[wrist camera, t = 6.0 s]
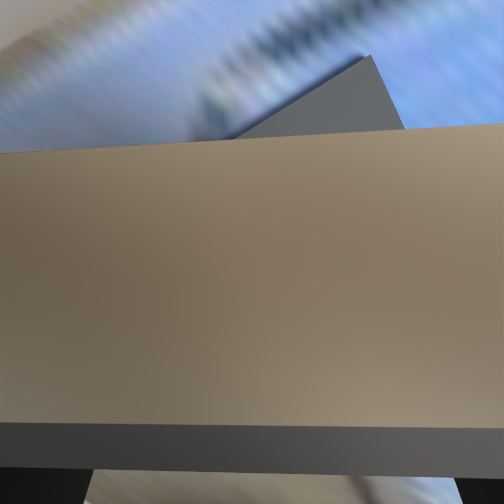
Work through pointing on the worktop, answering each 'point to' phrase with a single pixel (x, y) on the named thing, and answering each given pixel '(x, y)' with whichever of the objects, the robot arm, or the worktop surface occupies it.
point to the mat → (336, 107)
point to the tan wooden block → (257, 305)
